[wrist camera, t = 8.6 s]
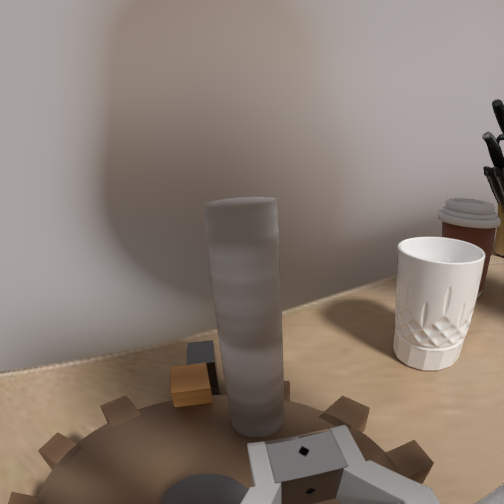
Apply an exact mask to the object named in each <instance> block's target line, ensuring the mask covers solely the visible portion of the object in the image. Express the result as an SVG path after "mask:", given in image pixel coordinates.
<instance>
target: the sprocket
mask: <svg viewBox="0 0 504 504" xmlns="http://www.w3.org/2000/svg"><path fill="white" fill-rule="evenodd" d="M276 202H277V201H276V199H275V198H269V197H245V198H232V199H224V200H218V201H213V202H209V203H206V204H204V205H203V206H204V216H205V227H206V236H207V246H208V254H209V264H210V272H211V281H212V289H213V298H214V305H215V313H216V321H217V329H218V336H219V344H220V351H221V358H222V365H223V372H224V378H225V385H226V391H227V395H212V393H211V388H210V382H209V377H208V371H207V366H206V362H205V363H198V364H191V365H183V366H174V367H171V396H172V399H173V400H172V401H168V402H164V403H159V404H156V405H152V406H149V407H146V408H142V409H139V410H137V409H136V408H135V406H134V405H133V404H132V402H131V401H130V400H129V399H128V397H127V396H123V397H121V398H118V399H116V400H114V401H111V402H109V403H106V404H104V405H101V406H100V407H101V409H102V411H103V413H104V416H105V418H106V420H107V422H108V423H107V424H106V425H104V426H102V427H101V428H99V429H97V430H95V431H94V432H92V433H91V434H89V435H88V436H87V437H85V438H84V439H83V440H81V441H80V442H79V443H75V442H73V441H72V440H70V439H68V438H66V437H65V436H63V435H61V434H60V433H58V432H57V433H56V434H55V435H54V436H53V437H52V438H51V439H50V440H49V441H48V442H47V443H46V444H45V445H44V446H42V447H41V448H40V449H39V450H38V451H39V453H40V454H41V455H42V457H43V458H44V460H45V461H46V462H47V464H48V465H49V467H50V468H51V469H52V472H51V473H50V475H49V476H48V478H47V479H46V481H45V483H44V485H43V487H42V489H41V491H40V493H39V496H38V497H36V496H30V495H25V494H20V493H15V492H11V496H10V499H9V503H8V504H240V503H241V502H242V500H243V498H244V497H245V495H246V493H247V492H248V490H249V488H250V487H253V483H252V477H251V471H250V464H249V456H248V448H247V443H255V442H263V441H264V442H265V441H270V440H277V439H284V438H290V437H296V436H298V435H303V434H308V433H312V432H316V431H321V430H325V429H330V428H334V427H338V426H342V425H345V426H347V428H348V430H349V431H350V433H351V435H352V437H353V439H354V441H355V442H356V444H357V446H358V448H359V450H360V452H361V453H362V455H363V457H364V459H365V461H369V460H371V461H373V462H375V463H377V464H379V465H381V466H383V467H385V468H387V469H389V470H391V471H393V472H396V473H398V474H400V475H402V476H404V477H406V478H409V479H411V480H413V481H415V482H418V483H420V484H422V483H423V482H424V480H425V478H426V476H427V475H428V473H429V471H430V469H431V467H432V465H433V464H434V462H433V461H432V460H431V459H430V458H429V457H428V455H427V454H426V453H425V452H424V451H423V449H422V448H421V447H420V446H419V445H418V444H417V442H416V441H415V440H413V441H411V442H408V443H406V444H404V445H402V446H400V447H398V448H395V449H393V450H391V451H388V452H386V453H385V452H384V451H383V450H382V449H381V448H380V447H379V446H378V445H377V444H376V443H374V442H373V441H372V440H371V439H370V438H369V437H367V436H366V435H364V434H363V433H362V432H363V431H364V430H365V427H366V423H367V418H368V414H369V409H370V408H369V407H367V406H365V405H362V404H360V403H358V402H355V401H353V400H351V399H349V398H347V397H344V396H342V397H340V398H339V399H338V400H337V401H336V402H335V403H334V404H333V405H332V406H330V407H329V408H328V409H327V410H326V411H325V412H322V411H320V410H317V409H314V408H311V407H308V406H305V405H302V404H297V403H293V402H290V382H289V381H284V376H283V338H282V309H281V285H280V284H281V283H280V261H279V239H278V220H277V203H276ZM335 499H336V498H335ZM335 499H331V500H327V501H322V502H318V503H313V504H341V503H340V502H338V501H337V500H335Z"/></svg>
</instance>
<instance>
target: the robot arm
mask: <svg viewBox="0 0 504 504" xmlns="http://www.w3.org/2000/svg"><path fill="white" fill-rule="evenodd" d="M247 448H248V456H249V464H250V471H251V477H252V483H253V487H250V488H249V490H248V492H247V493H246V495H245V497H244V498H243V500H242V502H241V503H240V504H313V503H318V502H322V501H327V500H331V499H335V498H336V499H335V500H337V501H338V502H340V503H341V504H441V503H440V501H439V500H438V498H437V496H436V495H435V493H434V492H433V490H432V489H431V488H429V487H427V486H424V485H422V484H420V483H418V482H415V481H413V480H411V479H409V478H406V477H404V476H402V475H400V474H398V473H396V472H393V471H391V470H389V469H387V468H385V467H383V466H381V465H379V464H377V463H375V462H373V461H371V460H369V461H365V459H364V457H363V455H362V453H361V452H360V450H359V448H358V446H357V444H356V442H355V441H354V439H353V437H352V435H351V433H350V431H349V430H348V428H347V426H345V425H342V426H338V427H334V428H330V429H325V430H321V431H316V432H312V433H308V434H303V435H298V436H296V437H290V438H284V439H277V440H270V441H265V442H264V441H263V442H255V443H247ZM474 504H504V483H503V484H502V485H501V486H499V487H498V488H497V489H495V490H494V491H492V492H491V493H489V494H488V495H486V496H485V497H484V498H482V499H481V500H479V501H477V502H476V503H474Z"/></svg>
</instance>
